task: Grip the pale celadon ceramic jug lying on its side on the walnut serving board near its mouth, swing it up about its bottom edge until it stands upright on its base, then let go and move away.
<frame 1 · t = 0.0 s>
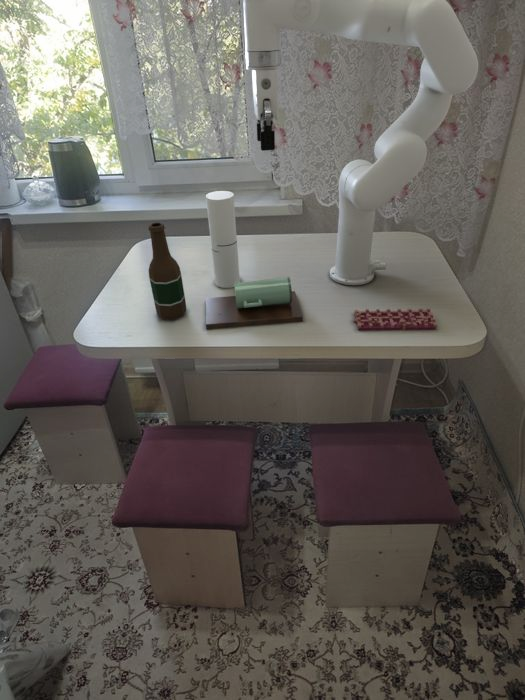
hand: (265, 145, 109), 37 cm above the table, tool pointing down, fingers open, 9 cm apart
serving board: (252, 311, 118), on the table
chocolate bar: (392, 322, 112), on the table
cylindrical container: (227, 282, 132), on the table
beer bottle: (172, 313, 119), on the table
jug: (263, 295, 114), point 5 cm above the table, hinge at -88.1°
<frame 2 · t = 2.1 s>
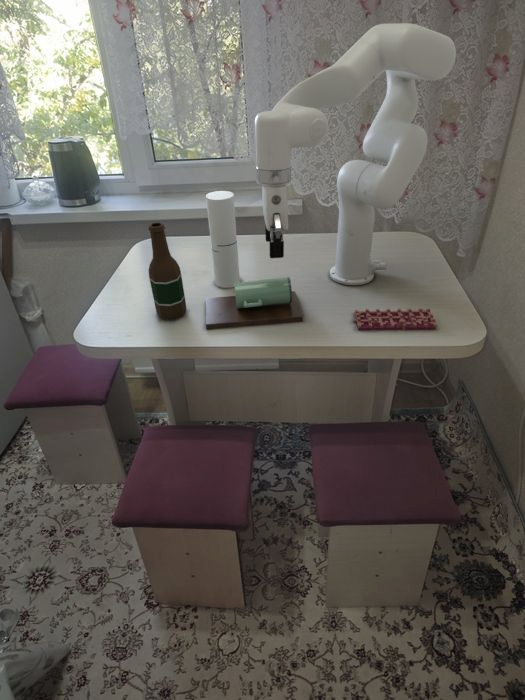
hand: (274, 248, 109), 17 cm above the table, tool pointing down, fingers open, 9 cm apart
nothing on the table moved.
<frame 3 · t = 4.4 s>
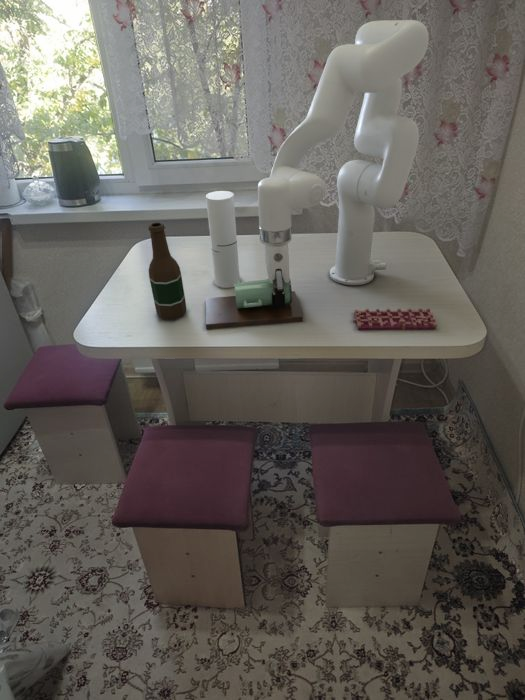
hand: (276, 299, 117), 3 cm above the table, tool pointing down, fingers closed on jug, 6 cm apart
jug: (263, 295, 114), point 5 cm above the table, hinge at -88.1°, touching gripper
everything else where it was.
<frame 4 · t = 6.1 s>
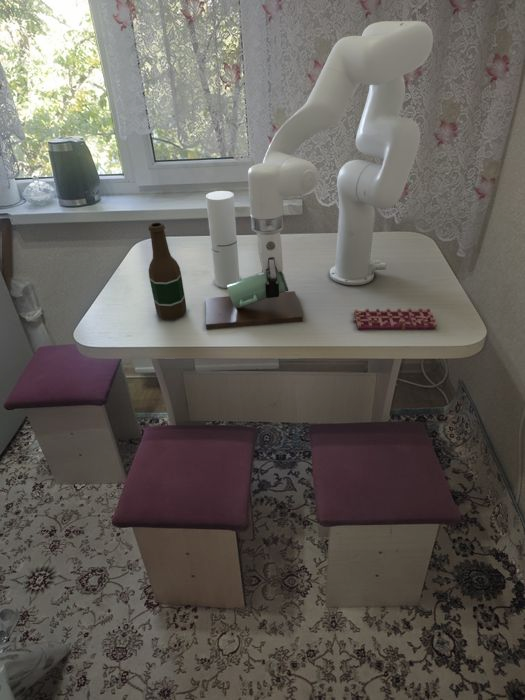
hand: (270, 289, 115), 6 cm above the table, tool pointing down, fingers closed on jug, 6 cm apart
jug: (258, 289, 113), point 7 cm above the table, hinge at -72.6°, touching gripper
everything else where it was.
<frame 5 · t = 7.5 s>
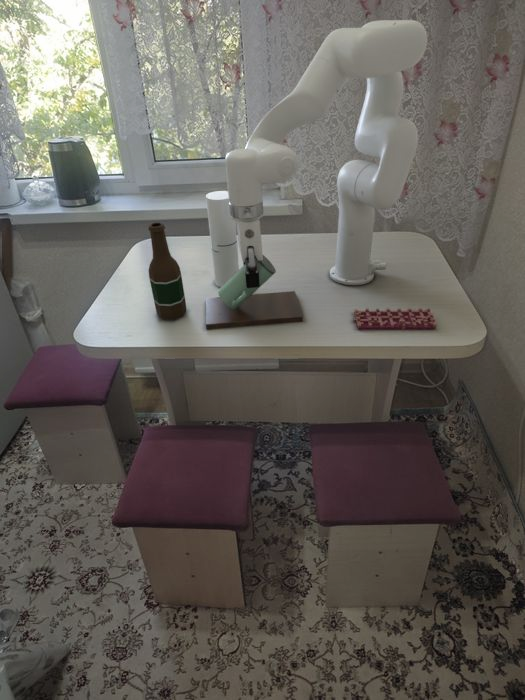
hand: (251, 279, 113), 9 cm above the table, tool pointing down, fingers closed on jug, 6 cm apart
jug: (246, 283, 112), point 9 cm above the table, hinge at -47.2°, touching gripper
everything else where it was.
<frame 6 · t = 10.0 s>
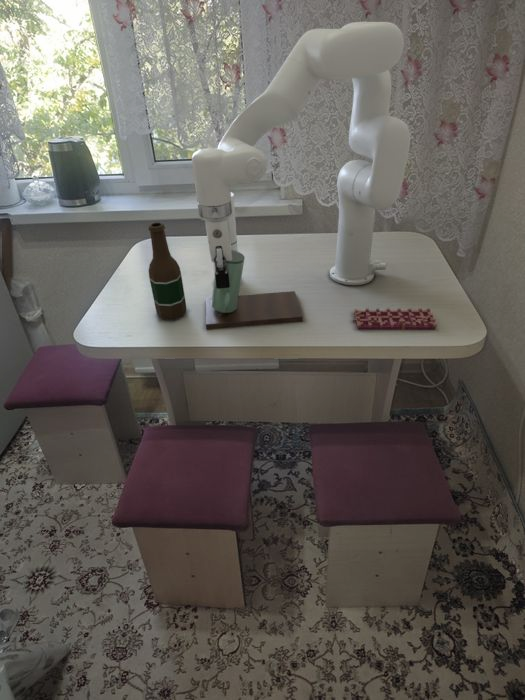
hand: (222, 279, 112), 10 cm above the table, tool pointing down, fingers closed on jug, 6 cm apart
jug: (227, 284, 111), point 9 cm above the table, hinge at -11.5°, touching gripper
everything else where it was.
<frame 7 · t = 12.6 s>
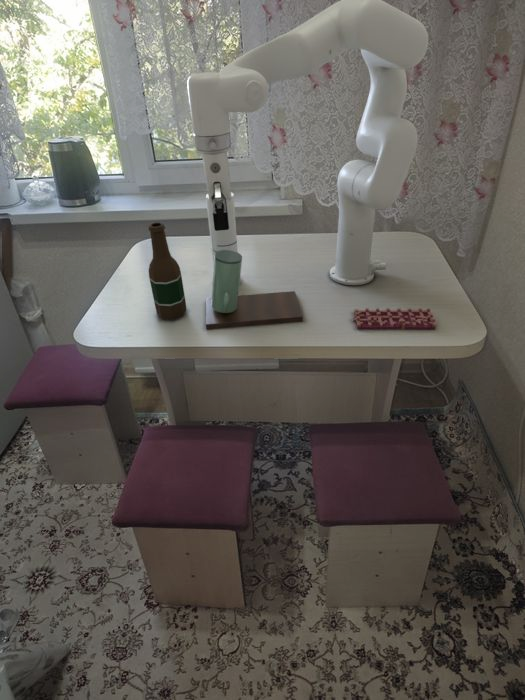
hand: (221, 221, 105), 24 cm above the table, tool pointing down, fingers open, 9 cm apart
jug: (226, 284, 111), point 9 cm above the table, hinge at -9.1°
everything else where it was.
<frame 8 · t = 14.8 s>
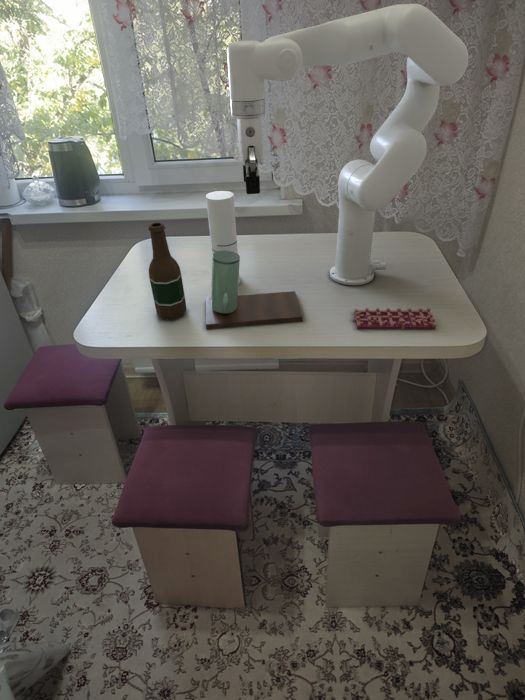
hand: (251, 187, 110), 28 cm above the table, tool pointing down, fingers open, 9 cm apart
jug: (225, 284, 111), point 9 cm above the table, hinge at -6.8°
everything else where it was.
at the end: jug at -7° (first picture: -88°); jug tilted 7°; the gripper is holding nothing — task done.
